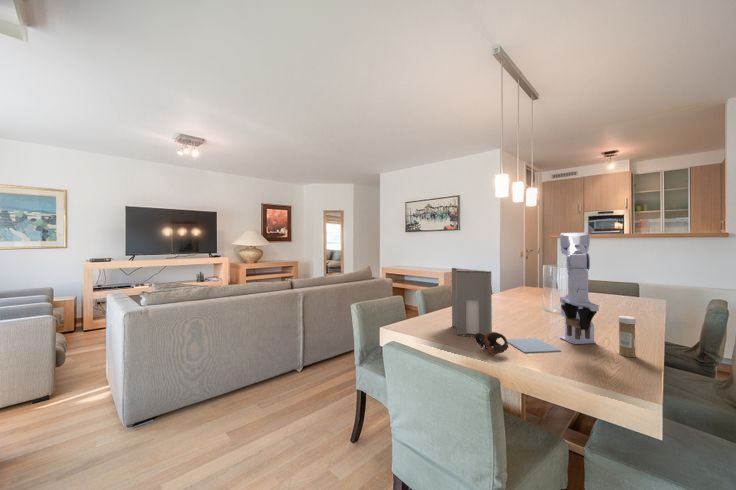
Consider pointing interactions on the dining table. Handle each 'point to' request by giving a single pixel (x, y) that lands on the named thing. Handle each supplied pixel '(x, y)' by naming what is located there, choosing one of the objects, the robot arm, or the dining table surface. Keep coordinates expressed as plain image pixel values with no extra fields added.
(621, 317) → the sprinkles bottle
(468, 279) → the cabinet
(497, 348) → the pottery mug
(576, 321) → the walnut stool
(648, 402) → the dining table surface
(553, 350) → the felt mat
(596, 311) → the robot arm
